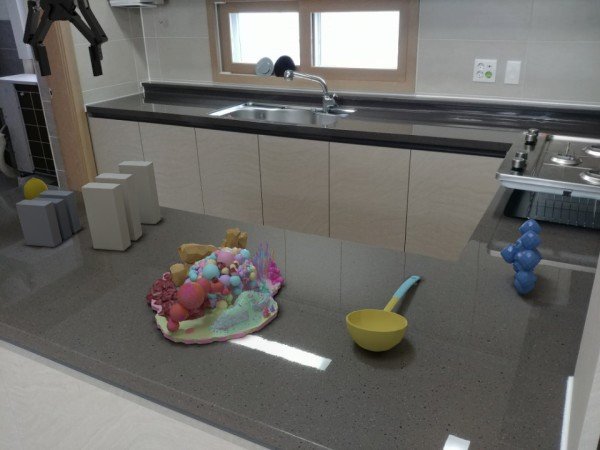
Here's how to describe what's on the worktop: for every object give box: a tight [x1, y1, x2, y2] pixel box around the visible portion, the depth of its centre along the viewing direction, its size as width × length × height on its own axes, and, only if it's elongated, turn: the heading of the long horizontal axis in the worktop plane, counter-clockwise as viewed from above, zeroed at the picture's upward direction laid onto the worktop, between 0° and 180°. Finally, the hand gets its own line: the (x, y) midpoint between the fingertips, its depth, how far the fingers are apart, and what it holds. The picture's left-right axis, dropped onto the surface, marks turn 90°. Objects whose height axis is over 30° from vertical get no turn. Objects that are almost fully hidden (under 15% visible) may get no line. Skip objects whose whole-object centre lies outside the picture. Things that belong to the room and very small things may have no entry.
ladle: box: [345, 275, 421, 352], centre depth 85 cm, size 9×26×6 cm, turn 153°
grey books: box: [15, 189, 82, 248], centre depth 117 cm, size 10×7×9 cm
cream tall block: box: [117, 160, 162, 225], centre depth 122 cm, size 3×7×14 cm, turn 77°
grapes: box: [499, 218, 544, 295], centre depth 91 cm, size 12×7×12 cm, turn 160°
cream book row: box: [81, 172, 143, 252], centre depth 112 cm, size 8×7×14 cm
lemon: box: [23, 177, 49, 200], centre depth 133 cm, size 6×6×8 cm
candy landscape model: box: [145, 227, 285, 345], centre depth 90 cm, size 25×24×9 cm
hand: (72, 75), depth 124 cm, fingers open, 13 cm apart
